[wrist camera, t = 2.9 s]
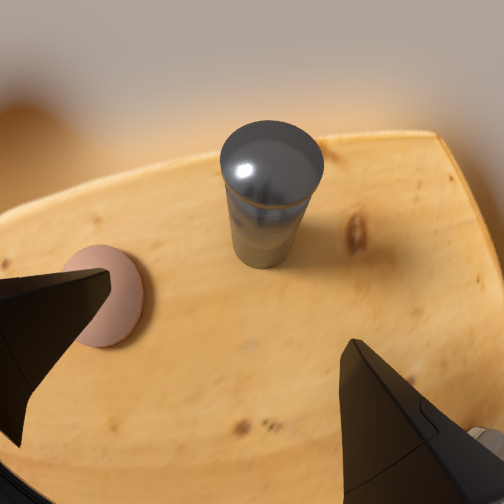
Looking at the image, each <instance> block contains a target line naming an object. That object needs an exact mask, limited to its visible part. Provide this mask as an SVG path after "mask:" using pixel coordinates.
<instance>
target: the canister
mask: <svg viewBox="0 0 504 504" xmlns="http://www.w3.org/2000/svg"><path fill="white" fill-rule="evenodd" d="M220 165H221V172H222V176H223V179H224V181H225V188H226V195H227V203H228V211H229V218H230V226H231V233H232V240H233V247H234V251H235V253H236V255H237V256H238V258H239V259H240V260H241V261H242V262H243V263H245V264H246V265H248V266H250V267H253V268H257V269H266V268H270V267H273V266H275V265H277V264H278V263H280V262H281V261H282V260H283V259H284V257H285V256H286V254H287V252H288V250H289V248H290V245H291V243H292V241H293V238H294V236H295V234H296V232H297V229H298V227H299V225H300V222H301V220H302V218H303V215H304V213H305V211H306V208H307V206H308V204H309V201H310V199H311V196H312V194H313V193H314V192H315V190H316V189H317V187H318V185H319V183H320V180H321V178H322V175H323V170H324V160H323V155H322V152H321V150H320V148H319V146H318V145H317V143H316V142H315V141H314V140H313V138H312V137H311V136H310V135H308V134H307V133H306V132H304V131H303V130H301V129H299V128H298V127H296V126H293V125H291V124H288V123H285V122H280V121H269V120H267V121H258V122H254V123H250V124H247V125H245V126H243V127H241V128H239V129H237V130H236V131H235V132H233V133H232V134H231V135H230V136H229V138H228V139H227V140H226V142H225V143H224V145H223V147H222V150H221V155H220Z"/></svg>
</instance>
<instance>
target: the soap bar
mask: <svg viewBox="0 0 504 504" xmlns="http://www.w3.org/2000/svg"><path fill="white" fill-rule="evenodd" d="M93 268H104V269H106V270H108V271H109V272H110V277H111V293H110V295H109V297H108V298H107V300H106V301H105V302H104V304H103V305H102V307H101V308H100V310H99V311H98V312H97V314H96V315H95V317H94V318H93V319H92V321H91V322H90V323H89V324H88V325H87V327H86V328H85V329H84V330H83V331H82V332H81V334H80V335H79V336H78V337H77V338H76V339H75V340H76V341H77V342H79V343H81V344H83V345H87V346H91V347H107V346H112V345H114V344H117V343H119V342H120V341H122V340H123V339H125V338H126V337H127V336H128V335H129V334H130V333H131V332H132V331H133V329H134V328H135V326H136V325H137V323H138V321H139V319H140V316H141V313H142V310H143V304H144V287H143V281H142V278H141V275H140V273H139V271H138V269H137V267H136V266H135V264H134V263H133V262H132V260H131V259H130V258H128V257H127V256H126V255H125V254H124V253H122V252H121V251H119V250H118V249H116V248H114V247H111V246H108V245H93V246H89V247H86V248H84V249H82V250H80V251H79V252H77V253H76V254H75V255H73V256H72V257H71V258H70V259H69V261H68V262H67V263H66V265H65V266H64V268H63V269H62V271H61V272H68V271H76V270H84V269H93Z"/></svg>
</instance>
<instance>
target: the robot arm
mask: <svg viewBox="0 0 504 504" xmlns="http://www.w3.org/2000/svg"><path fill="white" fill-rule="evenodd" d="M110 293H111V277H110V272H109V271H108V270H106V269H104V268H93V269H84V270H76V271H68V272H60V273H52V274H43V275H35V276H27V277H21V278H20V277H16V278H8V279H0V432H1V433H2V434H3V435H4V436H6V437H7V438H8V439H9V440H10V441H11V442H12V443H14V444H15V445H16V446H17V447H18V448H20V446H21V441H22V433H23V426H24V419H25V413H26V408H27V403H28V400H29V398H30V396H31V395H32V393H33V392H34V391H35V389H36V388H37V387H38V385H39V384H40V383H41V382H42V380H43V379H44V378H45V376H46V375H47V374H48V373H49V371H50V370H51V369H52V368H53V366H54V365H55V364H56V363H57V361H58V360H59V359H60V358H61V356H62V355H63V354H64V353H65V351H66V350H67V349H68V348H69V347H70V345H71V344H72V343H73V342H74V341H75V339H76V338H77V337H78V336H79V335H80V334H81V332H82V331H83V330H84V329H85V328H86V327H87V325H88V324H89V323H90V322H91V321H92V319H93V318H94V317H95V315H96V314H97V312H98V311H99V310H100V308H101V307H102V305H103V304H104V302H105V301H106V300H107V298H108V297H109V295H110ZM339 400H340V414H341V429H342V448H343V478H344V500H343V504H504V461H503V460H501V459H500V458H499V457H498V456H496V455H495V454H494V453H492V452H491V451H490V450H489V449H487V448H486V447H485V446H483V445H482V444H481V443H480V442H478V441H477V440H476V439H475V438H473V437H472V436H471V435H469V434H468V433H467V432H466V431H464V430H463V429H462V428H461V427H459V426H458V425H457V424H456V423H454V422H453V421H452V420H450V419H449V418H448V417H447V416H446V415H444V414H443V413H442V412H441V411H439V410H438V409H437V408H436V407H435V406H434V405H433V404H432V403H430V402H429V401H428V400H427V399H426V398H425V397H424V396H422V395H421V394H420V393H419V392H418V391H417V390H416V389H415V388H414V387H412V386H411V385H410V384H409V383H408V382H407V381H406V380H405V379H404V378H403V377H402V376H400V375H399V374H398V373H397V372H396V371H395V370H394V369H393V368H392V367H391V366H390V365H388V364H387V363H386V362H385V361H384V360H383V359H382V358H381V357H380V356H379V355H378V354H376V353H375V352H374V351H373V350H372V349H371V348H370V347H369V346H368V345H367V344H365V343H364V342H363V341H362V340H359V339H354V338H352V339H351V340H350V341H349V342H348V344H347V346H346V348H345V349H344V351H343V353H342V355H341V359H340V379H339ZM0 504H56V503H55V502H53V501H52V500H50V499H49V498H47V497H46V496H44V495H43V494H41V493H40V492H39V491H37V490H36V489H35V488H33V487H32V486H31V485H29V484H28V483H27V482H25V481H24V480H23V479H22V478H20V477H19V476H18V475H17V474H15V473H14V472H13V471H12V470H11V469H10V468H8V467H7V466H6V465H5V464H4V463H3V462H2V461H1V460H0Z"/></svg>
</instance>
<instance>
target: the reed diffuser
mask: <svg viewBox="0 0 504 504" xmlns="http://www.w3.org/2000/svg"><path fill="white" fill-rule="evenodd" d="M467 433H468V434H469V435H471V436H472V437H473V438H475V439H476V440H477V441H478V442H480V443H481V444H482V445H483V446H485V447H486V448H487V449H489V450H490V451H491V452H492V453H494V454H495V455H496V456H498V457H499V458H500V459H501V460H503V461H504V434H503V433H502V432H501V431H498V430H494V429H488V428H482V427H473V428H472V429H470V430H469V431H468V432H467Z"/></svg>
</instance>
